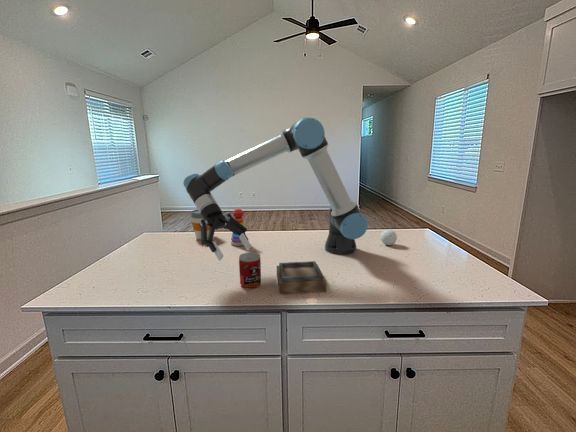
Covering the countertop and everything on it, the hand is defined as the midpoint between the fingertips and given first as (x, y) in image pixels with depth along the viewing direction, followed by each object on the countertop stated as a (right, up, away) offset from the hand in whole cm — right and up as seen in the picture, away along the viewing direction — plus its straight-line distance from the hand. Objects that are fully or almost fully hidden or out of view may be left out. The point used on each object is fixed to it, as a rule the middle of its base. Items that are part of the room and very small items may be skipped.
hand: (236, 253), depth 112 cm
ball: (+70, -1, +43) cm, 82 cm away
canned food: (+5, -11, -1) cm, 13 cm away
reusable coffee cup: (-28, +2, +58) cm, 65 cm away
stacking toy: (-6, -1, +46) cm, 46 cm away
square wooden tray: (+24, -11, 0) cm, 26 cm away
